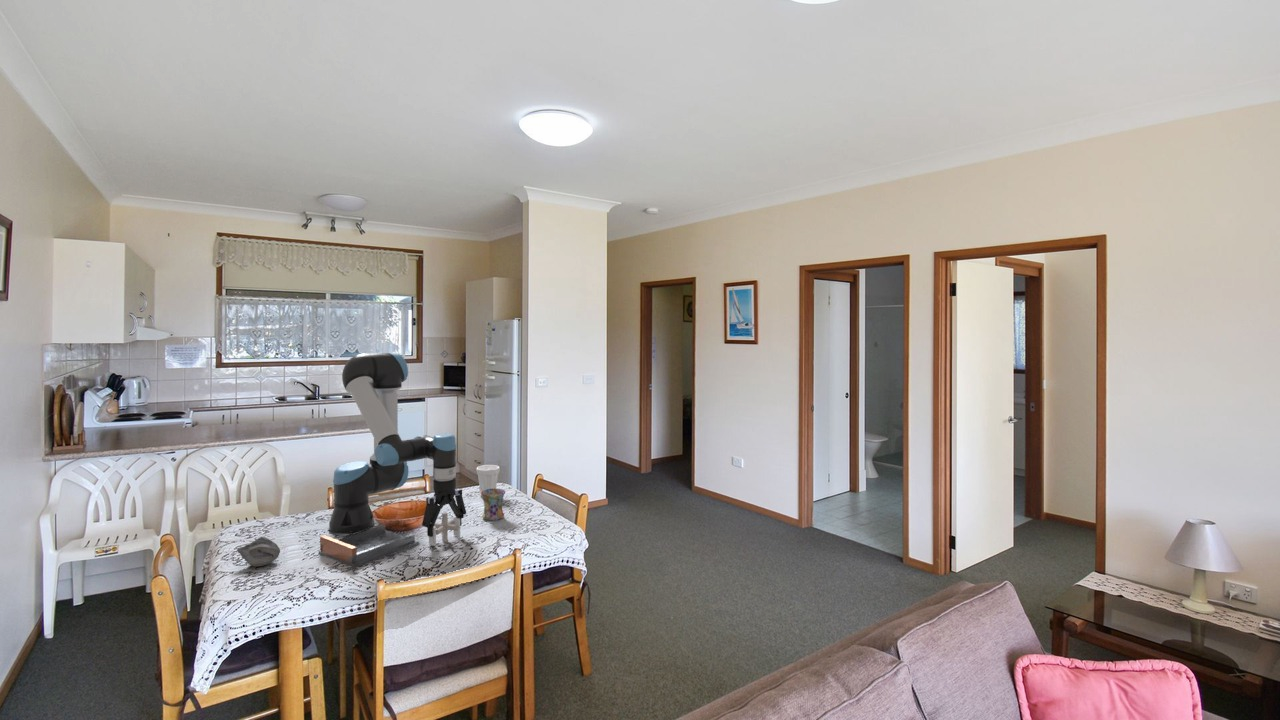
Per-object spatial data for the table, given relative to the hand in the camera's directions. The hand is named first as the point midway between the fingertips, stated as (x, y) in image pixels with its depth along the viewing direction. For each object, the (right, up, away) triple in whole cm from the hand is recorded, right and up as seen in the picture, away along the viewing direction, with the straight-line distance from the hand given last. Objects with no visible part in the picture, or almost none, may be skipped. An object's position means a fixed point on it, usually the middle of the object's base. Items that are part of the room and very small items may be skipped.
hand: (444, 540), depth 208 cm
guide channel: (-23, 0, -8) cm, 24 cm away
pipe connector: (0, 0, 0) cm, 0 cm away
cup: (+2, +3, +52) cm, 52 cm away
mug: (+10, +1, +25) cm, 27 cm away
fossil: (-52, -1, -22) cm, 56 cm away
